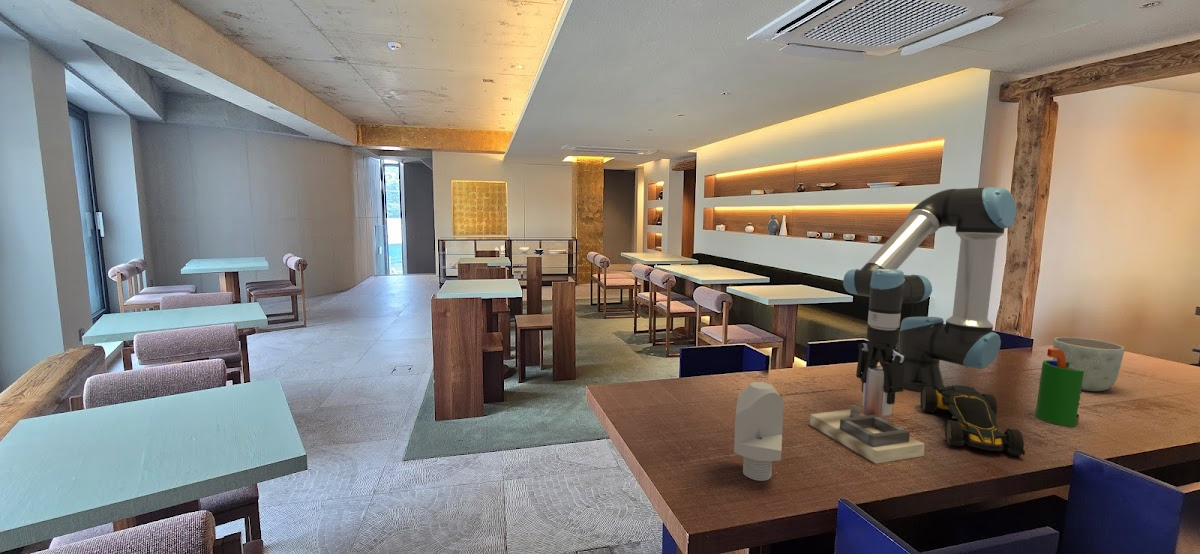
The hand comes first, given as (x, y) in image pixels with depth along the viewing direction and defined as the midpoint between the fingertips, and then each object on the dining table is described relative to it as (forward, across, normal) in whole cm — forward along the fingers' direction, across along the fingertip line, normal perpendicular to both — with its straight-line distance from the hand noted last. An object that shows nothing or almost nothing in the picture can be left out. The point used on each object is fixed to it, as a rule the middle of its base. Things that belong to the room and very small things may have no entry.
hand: (876, 409), depth 136 cm
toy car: (+4, +11, +20) cm, 23 cm away
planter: (+4, -5, +91) cm, 91 cm away
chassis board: (+3, +8, -12) cm, 15 cm away
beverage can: (+4, 0, 0) cm, 4 cm away
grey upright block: (+4, +16, -48) cm, 51 cm away
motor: (+4, +12, +51) cm, 53 cm away
